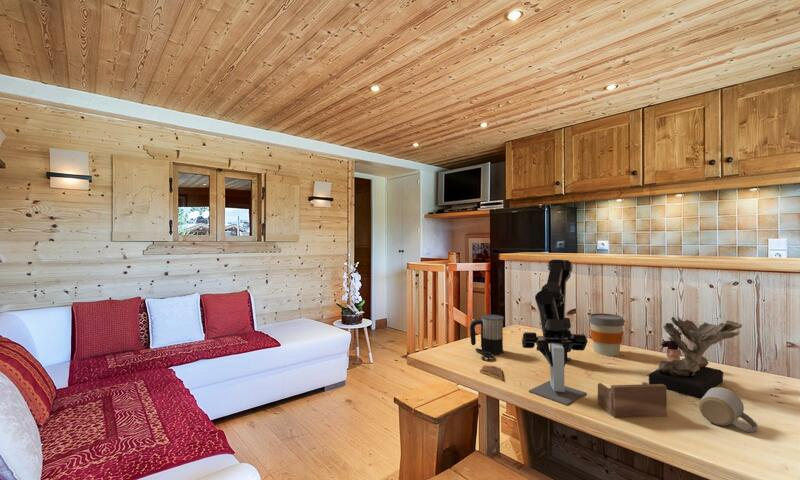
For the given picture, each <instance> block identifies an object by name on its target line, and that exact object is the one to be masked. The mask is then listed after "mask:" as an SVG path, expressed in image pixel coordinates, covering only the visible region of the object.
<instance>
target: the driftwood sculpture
mask: <svg viewBox="0 0 800 480" xmlns="http://www.w3.org/2000/svg"><path fill="white" fill-rule="evenodd" d="M670 320H671V322H666V323H665V324H664V325H663V326H662V328H663V329H664V330H665V332H666V334H669V335H670V336H671V338H672V339H673V340H674V341H675V342H676V343H677V344H678V345H679V346H680V348H682V350H683V352H684V353H683V352H682V353H683V356H684V358H682V359H680V360H673V361H667V360H660V361H659V362H658V368H657V369H655V370H653V371H652V372H650V373H648V384H663V385H665V386H667V391H670V392H674V393H677V394H681V395H684V396H687V397H690V398H694V399H698V400H701V399H702V397H703V396H704V395H705V394H706V393H707V391H708V390H709V389H711V388H714V387H719V386H720V385H721V384H723V382H724V371H723V370H721V369H719V368H718V369H717V368H712V367H708V365H709V361H708V359H707V358H706V357H704V353H705V352H706V351H707V350H708V349H709V348H710V347H712V345H715V344H718V343H719V342H722V341H723V340H726V339H732V338H735V337H736V336H739V334H741V332H740V331H736V330H738V329H741V328H743V324H742V323H738V322H736V321H731V320H726V321H725V323H723V322H721V323H719V324H718V325H716V324H711V323H709V322H705V321H704V322H703V323H702V324H699V326H698V327H697V325H696V324H695V322H694V321H691V320H688V319H685V320H681V319H680V318H679V317H678V316H677V317H676V318H675V317H674V316H672V317H670ZM674 325H675V326H676V327H674ZM678 328H679V330H678ZM735 331H736V332H735ZM682 335H683V336H684V337H685V338H686V339H687V340H688V341H689V342H690V344H691V346H692V348H691V349H690V348H689V346H688V344H686V342H685V341H683V340H682V337H681V336H682ZM680 348H679V349H680ZM682 350H681V351H682ZM719 384H720V385H719ZM718 385H719V386H718Z"/></svg>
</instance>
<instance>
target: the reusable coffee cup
mask: <svg viewBox="0 0 800 480" xmlns="http://www.w3.org/2000/svg"><path fill="white" fill-rule="evenodd" d="M588 319H589V320H588V323H590V326H589V327H590V328H589V332H590V339H591V341H592V345H593V351H594V353H596V354H598V355H601V356H606V357H616V356H619V355H620V350H621V344H622V342H623V338H624V337H623V336H624V331H623V329H624V328H623V327H624V326H625V321H624V317H623V316H621V315H619V314H612V313H604V312H603V313H601V312H600V313H598V312H597V313H590V314H589V318H588Z"/></svg>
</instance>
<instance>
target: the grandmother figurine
mask: <svg viewBox="0 0 800 480" xmlns="http://www.w3.org/2000/svg"><path fill="white" fill-rule="evenodd" d="M666 338H668V339H669V340H665V341H663V342H662V343H661V345H660V347H659V350H660V351H663V350H664V348H666V361H673V360H681V355H680V354H681V353H680V350H681V352H682V354H684V352H683V350H682V348H680V346H679V345H678V344H677V343H676V342H675V341H674V340H673V339H672V338H671V336H670V335H669V334H668V333H666ZM679 349H680V350H679Z"/></svg>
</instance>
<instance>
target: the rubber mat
mask: <svg viewBox="0 0 800 480" xmlns="http://www.w3.org/2000/svg"><path fill="white" fill-rule="evenodd" d="M528 392H529V393H531V394H533V395H537V396H539V397H542V398H545V399H548V400H550V401H552V402H556V403H558V404H562V405H565V406H568V405H570V404H572V403H574V402H575V401H578V399H580V398H582V397H584V396H586V395H587V392H585V391H583V390H580V389H576V388H572V387H570V386H567V385H564V392H561V391H554V390H553V389H552V387H551V385H550V380H548V381H545V382H544V383H541V384H540V385H538V386H535V387H533V388H531V389H529V390H528Z"/></svg>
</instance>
